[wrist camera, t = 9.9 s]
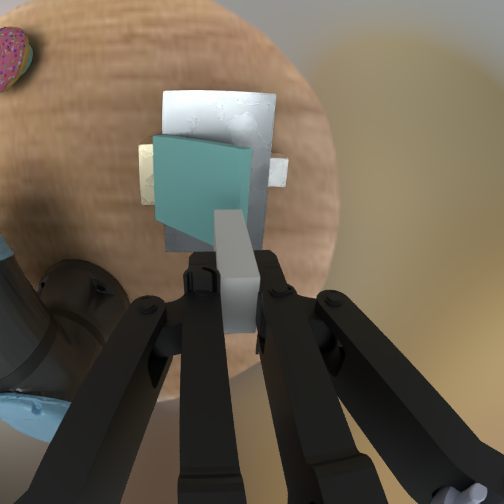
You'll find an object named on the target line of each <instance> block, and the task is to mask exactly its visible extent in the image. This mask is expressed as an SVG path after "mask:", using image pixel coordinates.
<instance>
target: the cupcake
mask: <svg viewBox="0 0 504 504" xmlns="http://www.w3.org/2000/svg"><path fill="white" fill-rule="evenodd" d="M32 58H33V50H32V47H31V46H30V45H29V39H28V36H27V35H26V34H25V32H24V31H23V30H22V29H20V28H17V27H4V28H1V29H0V93H2V92H6V91H8V90H9V89H10V87H11V86H12V85H13V84H14V83H15V82H16V81H17V79H18V78H19V77H20V76H21V75H22V74H24V73H25V72H26V71H27V69H28V68H29V66H30V64H31V62H32Z"/></svg>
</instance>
